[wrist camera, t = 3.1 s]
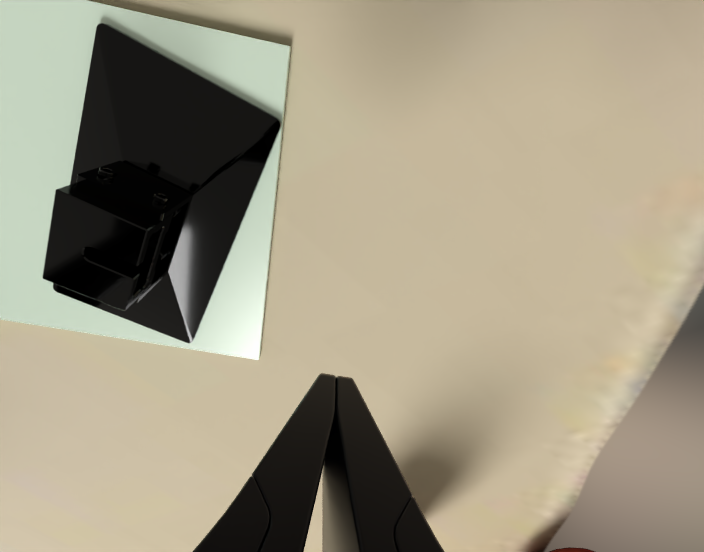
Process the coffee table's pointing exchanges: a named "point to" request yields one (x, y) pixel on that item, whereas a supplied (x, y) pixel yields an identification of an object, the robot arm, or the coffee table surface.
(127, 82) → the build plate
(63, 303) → the base plate
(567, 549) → the apple
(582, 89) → the coffee table surface
